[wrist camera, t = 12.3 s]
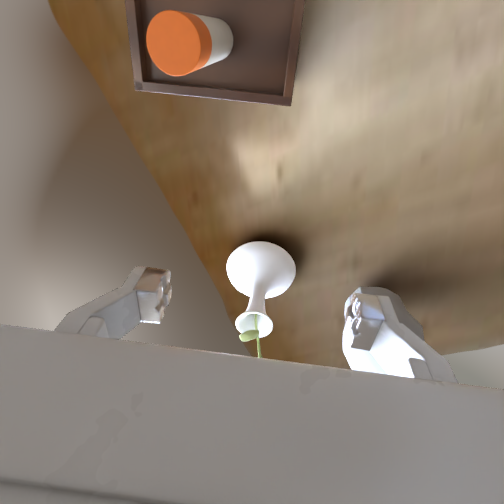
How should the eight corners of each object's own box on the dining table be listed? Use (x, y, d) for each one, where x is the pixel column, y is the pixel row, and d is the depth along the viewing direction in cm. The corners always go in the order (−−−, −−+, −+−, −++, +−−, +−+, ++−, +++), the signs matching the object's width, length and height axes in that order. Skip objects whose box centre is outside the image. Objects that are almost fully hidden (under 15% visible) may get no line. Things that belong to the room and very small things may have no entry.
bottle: (330, 272, 54) (362, 472, 30) (401, 262, 52) (502, 471, 27) (337, 319, 60) (370, 519, 36) (402, 312, 58) (485, 521, 33)
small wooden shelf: (172, -21, 35) (119, -45, 24) (303, -9, 34) (309, -28, 23) (177, 74, 40) (134, 90, 29) (290, 85, 39) (290, 106, 28)
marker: (210, 8, 26) (162, -6, 16) (240, 36, 27) (211, 38, 17) (191, 43, 28) (136, 50, 18) (220, 68, 28) (183, 88, 18)
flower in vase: (223, 237, 52) (180, 369, 32) (294, 234, 51) (297, 372, 30) (234, 297, 60) (205, 437, 39) (296, 296, 58) (300, 441, 38)
